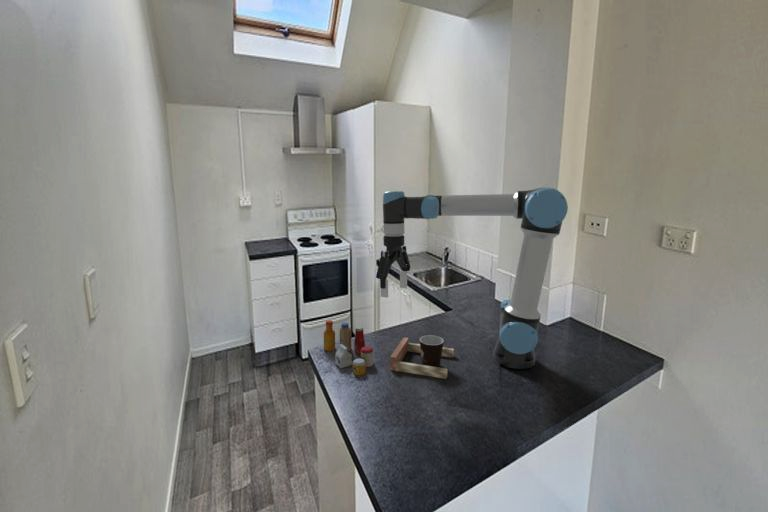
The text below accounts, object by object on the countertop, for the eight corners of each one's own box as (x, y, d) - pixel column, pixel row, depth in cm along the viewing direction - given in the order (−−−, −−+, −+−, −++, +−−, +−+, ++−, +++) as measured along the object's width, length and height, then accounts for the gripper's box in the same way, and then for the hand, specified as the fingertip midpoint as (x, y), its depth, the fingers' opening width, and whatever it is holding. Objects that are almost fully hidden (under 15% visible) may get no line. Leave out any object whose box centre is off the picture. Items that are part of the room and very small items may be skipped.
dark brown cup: (442, 372, 130) (443, 346, 128) (417, 370, 132) (418, 344, 130) (443, 357, 142) (444, 333, 140) (421, 355, 143) (421, 331, 141)
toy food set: (321, 349, 149) (320, 321, 147) (349, 342, 156) (349, 315, 153) (350, 378, 127) (350, 345, 124) (382, 369, 133) (382, 337, 131)
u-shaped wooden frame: (453, 355, 143) (454, 343, 142) (446, 378, 126) (447, 365, 125) (403, 348, 149) (403, 337, 148) (390, 369, 132) (390, 356, 131)
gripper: (402, 230, 145) (402, 283, 149) (365, 238, 125) (366, 299, 128) (419, 231, 141) (419, 285, 145) (383, 240, 121) (384, 302, 124)
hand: (394, 292), depth 137 cm, fingers open, 13 cm apart
